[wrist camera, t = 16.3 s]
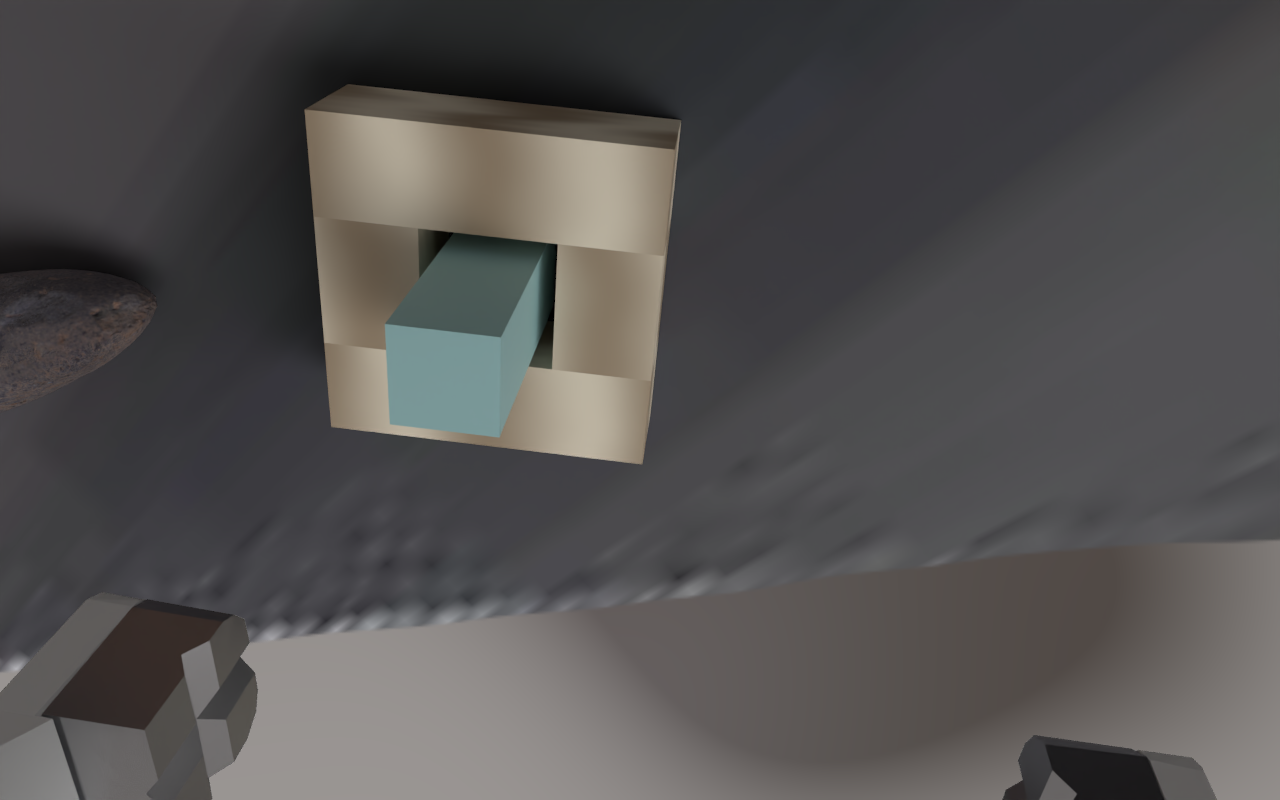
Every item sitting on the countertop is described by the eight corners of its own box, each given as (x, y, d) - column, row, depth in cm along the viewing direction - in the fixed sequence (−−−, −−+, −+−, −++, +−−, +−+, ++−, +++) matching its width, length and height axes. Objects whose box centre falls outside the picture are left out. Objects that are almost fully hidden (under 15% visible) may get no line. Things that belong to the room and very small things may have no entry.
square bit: (557, 223, 37) (501, 337, 28) (553, 306, 38) (499, 437, 30) (468, 213, 37) (384, 323, 28) (468, 296, 38) (389, 424, 30)
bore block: (681, 120, 34) (674, 149, 31) (650, 411, 40) (642, 464, 37) (348, 84, 35) (304, 109, 31) (366, 378, 41) (331, 426, 37)
